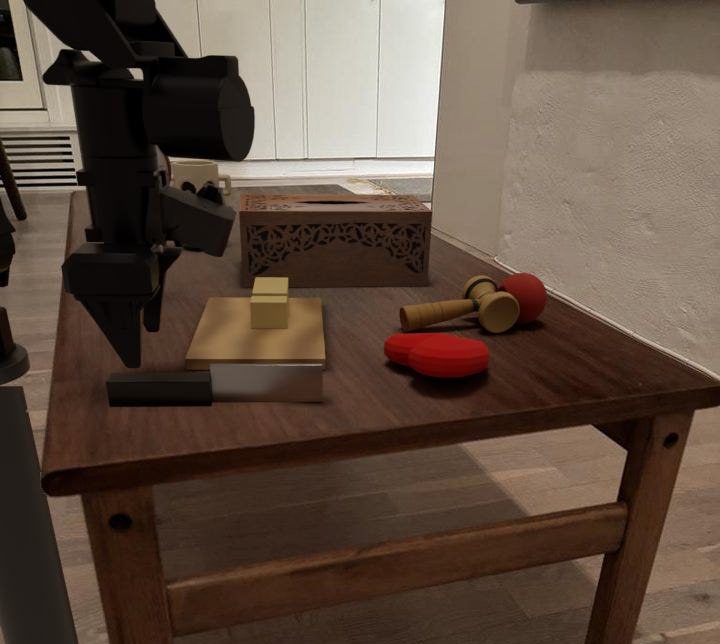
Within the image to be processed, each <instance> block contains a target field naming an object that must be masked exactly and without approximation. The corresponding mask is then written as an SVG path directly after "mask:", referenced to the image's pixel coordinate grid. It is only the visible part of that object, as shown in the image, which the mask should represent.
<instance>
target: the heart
mask: <svg viewBox="0 0 720 644" xmlns="http://www.w3.org/2000/svg"><path fill="white" fill-rule="evenodd" d="M383 354H384V355H385V356H386V358H388V359H389V361H391V362H393V363H396V364H399V365H401V366H405V367H408V368H411V369H413V370H414V371H415V372H417V373H420V374H422V375H424V376H429V377H437V378H463V377H467V376H470V375H474V374H479V373H481V372H482V371H484V370H485V369H486V368H488V365H489V362H490V348H489V347H488V345H486V343H484V341H480V340H475V339H471V338H466V337H463V336H462V337H461V336H457V335H452V334H448V333H443V332H420V333H419V332H418V333H415V332H413V333H395V334H393V335H391V336H390V337H388V338H387V339H386V340H385V341H384V344H383Z"/></svg>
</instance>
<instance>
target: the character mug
mask: <svg viewBox="0 0 720 644" xmlns="http://www.w3.org/2000/svg"><path fill="white" fill-rule="evenodd" d="M171 164H172V170H173V175H171V181H174V188H177V189H180V190H182V191H186V190H189V191H191V193H192V194H196V193H197V192H198V191H199V190H200V189H201V188H202V187H203V186H204V185H205V183H210V184H213V185H215V186H218V187H220V181H221V182H223V181H224V189H223V193H224V197H229V196H231V195H232V177H231V175H230V174H228V173H219V164H218V162H217V161H215V160H203V159H185V160H183V159H182V160H176V161H172V162H171ZM183 246H184V247H188V248H196V247H194V246H191V245H188V244H186V243H184V245H183ZM196 249H197V248H196Z"/></svg>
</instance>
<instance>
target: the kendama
mask: <svg viewBox="0 0 720 644" xmlns="http://www.w3.org/2000/svg"><path fill="white" fill-rule="evenodd" d="M545 286H546V285H545V284H544V283H543V281H541V279H540V278H539V277H537V276H535V275H534V274H531V273H528V272H517V273H514V274H511V275H508V277H506V278H505V279H504V280H503V281H501V283H500V285H499V286H498V285H497V283H496V282H495V280H494V279H492V278H491V277H490V276H488V275H476V276H473V277H472V278H470V279H469V280H468V281H467V282H466V283H465V285H464V286H463V288H462V292H461V299H451V300H450V299H449V300H441V301H436V302H428V303H419V304H409V305H402V306H400V307H399V313H398V315H399V322H400V326H401V328H402V330H403V332H405V333H410V332H412V331H416V330H418V329H422V328H426V327H429V326H432V325H437V324H440V323H444V322H448V321H452V320H454V319H458V318H461V317H463V316H466V315H469V314H472V313H474V312H476V313H477V318H478V322H479V324H480V325H481V326H482V327H483V328H484V330H486V331H487V332H489V333H491V334H501V333H505V332H507V331H508V330H510V329H511V328H512V327H513V326H514V325H515V324H517V325H525V324H528V323H531V322H533V321H535V320H537V319H538V318H539V317H540V316H541V315H542V313H543V311H544V310H545V308H546V305H547V301H548V293H547V290H546V287H545Z"/></svg>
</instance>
